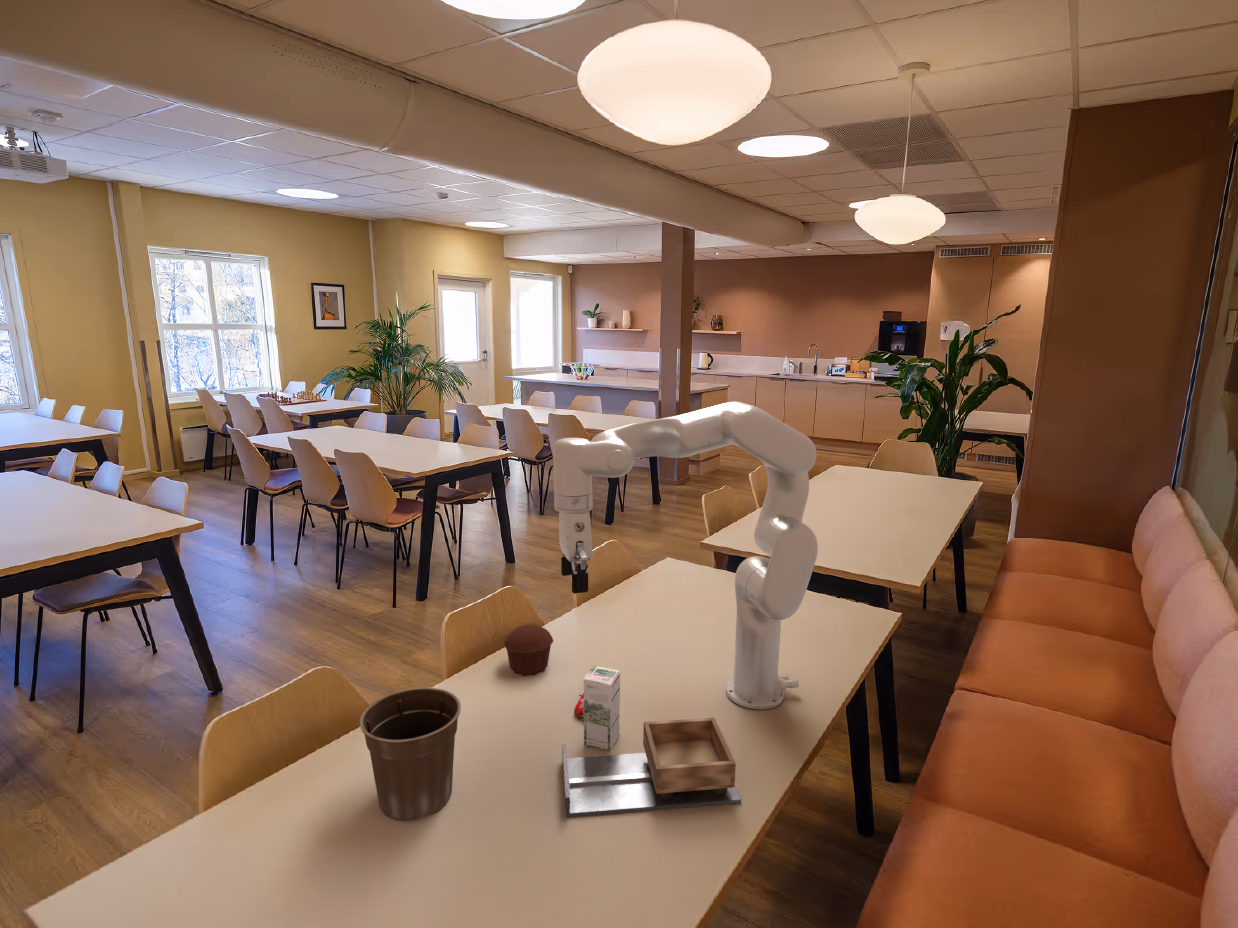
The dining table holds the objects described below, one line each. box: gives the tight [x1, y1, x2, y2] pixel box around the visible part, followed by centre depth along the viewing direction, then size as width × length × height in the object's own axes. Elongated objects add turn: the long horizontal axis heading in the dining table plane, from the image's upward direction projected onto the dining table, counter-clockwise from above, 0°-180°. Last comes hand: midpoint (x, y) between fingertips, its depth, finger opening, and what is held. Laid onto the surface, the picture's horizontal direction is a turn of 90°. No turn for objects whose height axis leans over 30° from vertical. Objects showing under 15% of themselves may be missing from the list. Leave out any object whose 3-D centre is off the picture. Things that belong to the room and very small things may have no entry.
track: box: [561, 743, 742, 819], centre depth 117 cm, size 30×14×4 cm, turn 97°
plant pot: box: [359, 687, 462, 821], centre depth 112 cm, size 16×16×16 cm
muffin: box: [503, 623, 554, 677], centre depth 157 cm, size 12×11×10 cm
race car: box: [573, 692, 584, 721], centre depth 142 cm, size 13×5×4 cm, turn 161°
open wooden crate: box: [642, 717, 737, 800], centre depth 118 cm, size 14×14×7 cm
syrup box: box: [583, 665, 621, 752], centre depth 128 cm, size 6×6×14 cm
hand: (574, 583), depth 132 cm, fingers open, 9 cm apart
